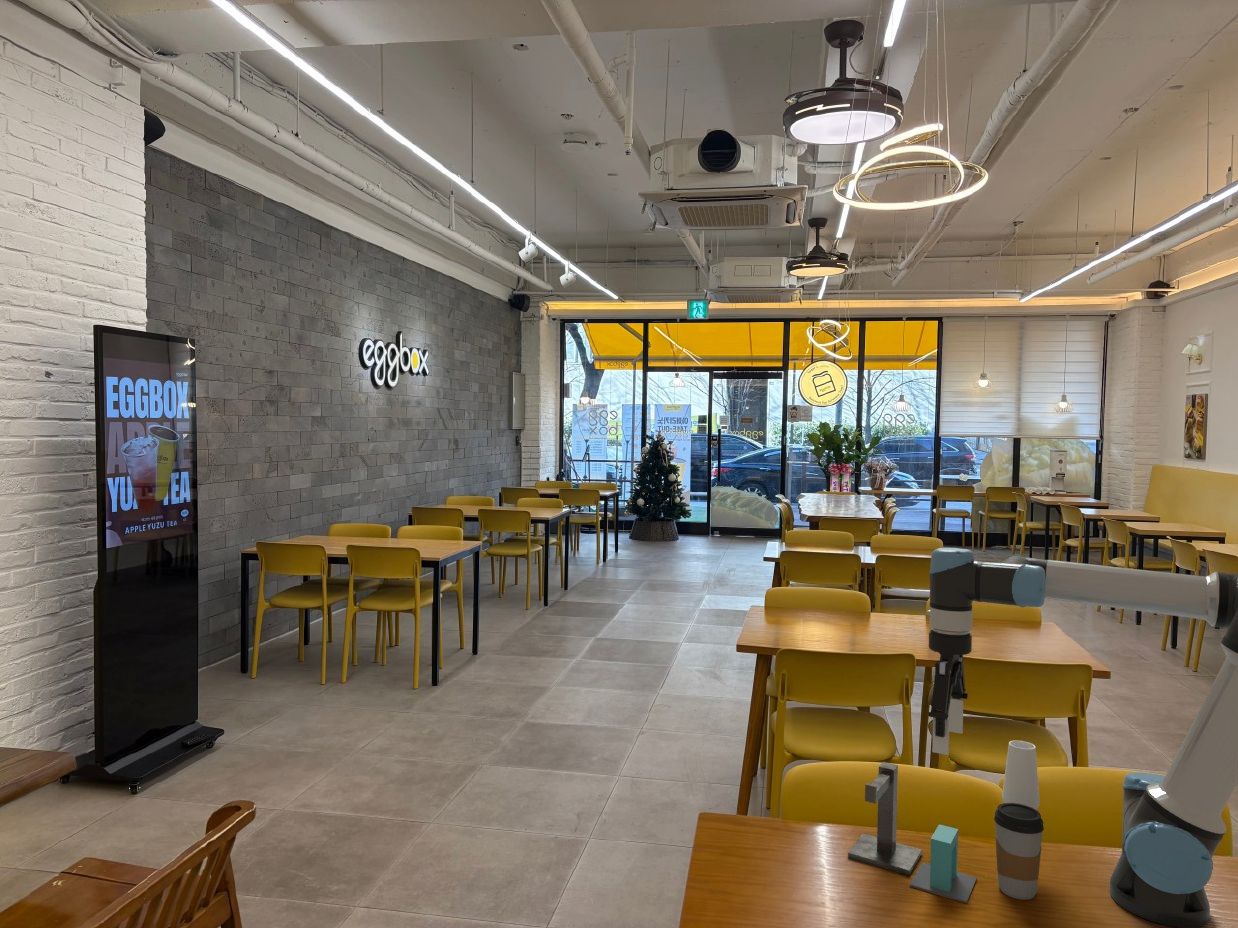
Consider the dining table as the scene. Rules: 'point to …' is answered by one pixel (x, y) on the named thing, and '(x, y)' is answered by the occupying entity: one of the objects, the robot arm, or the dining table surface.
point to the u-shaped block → (943, 857)
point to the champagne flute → (1021, 775)
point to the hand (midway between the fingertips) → (948, 742)
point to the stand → (885, 827)
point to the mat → (958, 891)
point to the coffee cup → (1018, 849)
